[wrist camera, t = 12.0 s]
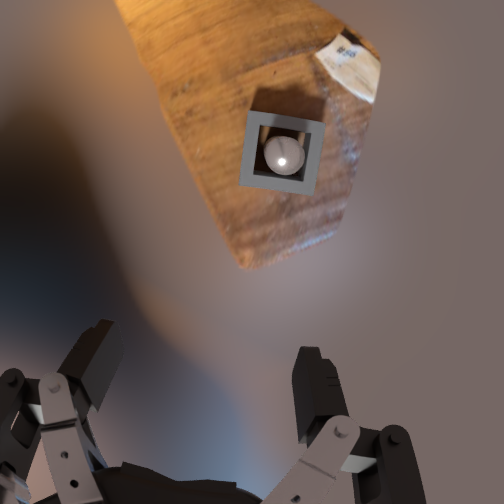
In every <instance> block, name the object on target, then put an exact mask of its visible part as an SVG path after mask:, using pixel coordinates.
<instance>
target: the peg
mask: <svg viewBox="0 0 504 504" xmlns="http://www.w3.org/2000/svg"><path fill="white" fill-rule="evenodd" d="M263 154H264V157H265V159H266V162H267V164H268V166H269V167H270V168H271V170H273V171H274V172H276V173H278V174H281V175H290V174H293V173H295V172H297V171H298V170H299V169H300V168H301V167H302V165H303V163H304V159H305V153H304V149H303V147H302V146H301V144H300V143H299V142H298V141H297V140H295V139H293V138H290V137H285V136H273V137H271V138H269V139H268V140H267V141H266V143H265V144H264V147H263Z"/></svg>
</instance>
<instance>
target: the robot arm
mask: <svg viewBox="0 0 504 504" xmlns="http://www.w3.org/2000/svg"><path fill="white" fill-rule="evenodd" d="M123 354H124V346H123V341H122V337H121V332H120V327H119V324H118V322H116V321H111V320H107V319H101V320H100V321H99V322H98V324H97V325H96V327H95V328H93V327H90V328H89V329H87V330H86V331H85V332H83V333H82V334H81V336H80V337H79V339H78V340H77V343H75V345H74V346H73V349H71V351H70V352H69V354H68V355H67V357H66V359H65V360H64V362H63V363H62V365H61V366H60V368H59V369H58V371H57V372H53V373H48V374H46V375H45V376H44V377H42V379H29V378H25V376H24V375H23V373H22V372H21V371H20V370H19V369H16V368H12V369H8V370H6V371H5V372H4V373H3V374H2V376H1V377H0V504H29V500H30V499H31V494H30V492H29V489H28V486H27V484H26V479H27V476H28V473H29V470H30V467H31V464H32V460H33V458H34V455H35V452H36V449H37V447H38V444H39V442H40V439H41V437H42V441H43V446H44V450H45V454H46V458H47V462H48V465H49V469H50V472H51V475H52V479H53V482H54V485H55V488H56V490H57V493H55V494H53V495H51V496H49V497H47V498H45V499H43V500H40V501H38V502H36V503H34V504H320V503H321V502H322V500H323V499H324V497H325V496H326V495H327V493H328V492H329V490H330V489H331V487H332V486H333V484H334V482H335V480H336V478H335V477H336V475H337V473H338V472H339V470H341V471H347V472H352V479H353V488H354V498H355V504H426V499H425V494H424V490H423V485H422V481H421V477H420V473H419V469H418V465H417V461H416V457H415V453H414V450H413V446H412V443H411V439H410V436H409V434H408V432H407V431H406V430H405V429H404V428H403V427H401V426H398V425H389V426H386V427H385V428H384V429H382V431H378V430H372V429H366V428H362V427H360V426H359V425H358V424H357V422H355V420H353V419H352V418H350V417H349V414H348V410H347V407H346V403H345V399H344V395H343V392H342V388H341V387H340V385H341V384H340V381H339V379H338V373H337V370H336V367H335V366H334V365H333V363H332V362H331V361H330V360H329V359H322V357H321V353H320V350H319V348H318V347H306V346H302V347H300V349H299V353H298V356H297V359H296V362H295V365H294V368H293V372H292V387H293V396H294V405H295V413H296V422H297V430H298V431H297V432H298V441H299V443H307V450H306V452H305V453H304V454H303V455H302V457H301V458H300V459H299V460H298V461H297V463H296V464H295V465H294V466H293V467H292V469H291V470H290V471H289V472H288V473H287V475H286V476H285V477H284V478H283V479H282V480H281V482H280V483H279V484H278V485H277V486H276V487H275V488H274V489H273V491H272V492H271V493H270V494H269V495H268V496H267V497H266V498H265V499H264V500H262V499H260V498H259V497H257V496H256V495H254V494H252V493H250V492H248V491H246V490H243V489H240V488H237V487H236V482H226V481H216V480H194V481H175V480H172V479H170V478H168V477H166V476H163V475H161V474H159V473H157V472H155V471H153V470H150V469H148V468H144V467H141V466H137V465H133V464H130V463H127V462H123V463H122V466H121V467H108V465H107V463H106V461H105V460H104V458H103V456H102V455H101V452H100V450H99V448H98V445H97V443H96V440H95V437H94V434H93V432H92V429H91V426H90V423H89V420H88V417H87V414H88V411H89V410H92V411H94V412H98V411H99V408H100V406H101V403H102V401H103V399H104V397H105V394H106V392H107V390H108V388H109V386H110V383H111V381H112V379H113V377H114V375H115V373H116V371H117V368H118V366H119V364H120V362H121V360H122V358H123ZM18 411H19V415H18V417H17V419H16V421H15V423H14V425H13V427H12V430H11V425H12V423H13V421H14V419H15V417H16V414H17V413H18Z"/></svg>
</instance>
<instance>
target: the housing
mask: <svg viewBox="0 0 504 504" xmlns="http://www.w3.org/2000/svg"><path fill="white" fill-rule="evenodd" d="M260 125H261V126H268V127H275V128H281V129H287V130H293V131H299V132H304V133H305V139H304V145H303V149H304V153H305V159H304V163H303V165H302V167H301V168H300V170H299V176H292V175H281V174H278V173H272V172H265V171H257V170H254V163H255V156H256V148H257V141H258V134H259V127H260ZM325 126H326V123H322V122H317V121H312V120H307V119H302V118H296V117H291V116H285V115H279V114H272V113H265V112H257V111H249V110H248V116H247V124H246V131H245V139H244V146H243V154H242V162H241V170H240V178H239V185H240V186H248V187H256V188H263V189H270V190H277V191H284V192H291V193H297V194H304V195H310V196H313V195H314V189H315V184H316V179H317V173H318V168H319V162H320V156H321V150H322V144H323V138H324V132H325Z"/></svg>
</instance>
